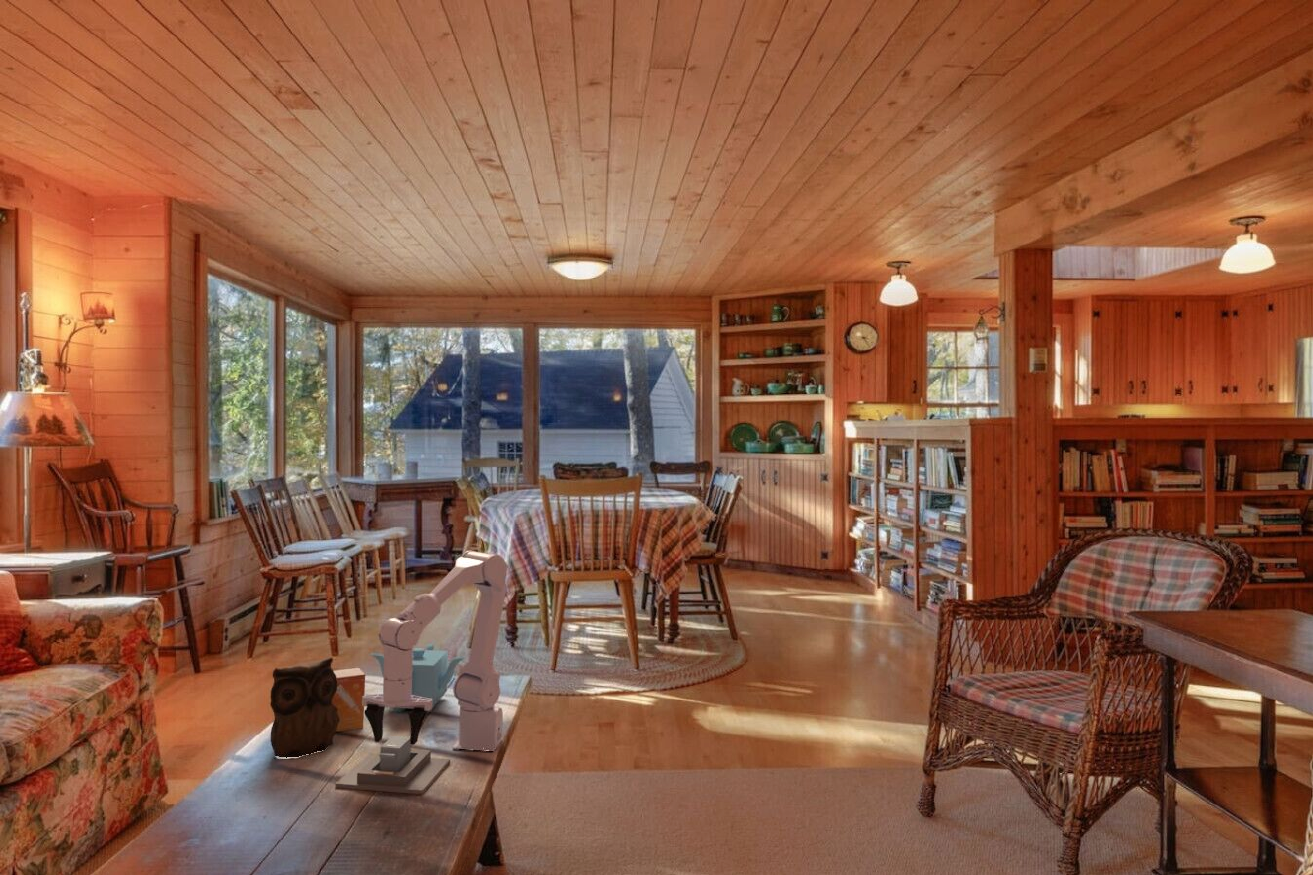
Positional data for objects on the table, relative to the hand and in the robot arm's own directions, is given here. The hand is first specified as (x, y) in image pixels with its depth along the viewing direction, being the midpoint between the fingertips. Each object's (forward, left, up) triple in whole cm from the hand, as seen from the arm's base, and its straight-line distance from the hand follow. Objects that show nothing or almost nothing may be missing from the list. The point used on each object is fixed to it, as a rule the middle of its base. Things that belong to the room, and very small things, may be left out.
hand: (396, 741), depth 177 cm
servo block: (0, 0, -6) cm, 6 cm away
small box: (+23, -24, -7) cm, 34 cm away
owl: (+26, -10, -7) cm, 29 cm away
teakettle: (+12, -43, -7) cm, 45 cm away
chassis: (0, 0, -7) cm, 7 cm away
